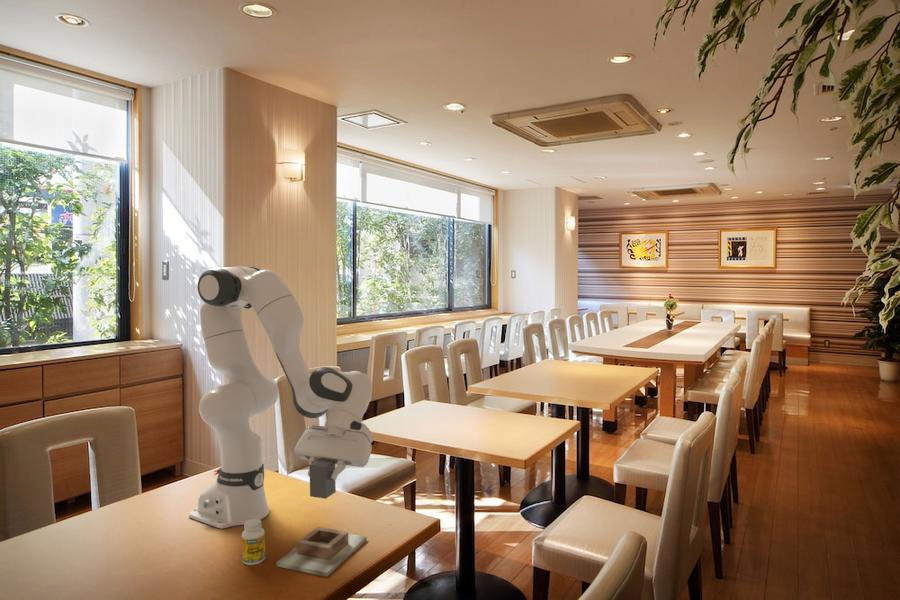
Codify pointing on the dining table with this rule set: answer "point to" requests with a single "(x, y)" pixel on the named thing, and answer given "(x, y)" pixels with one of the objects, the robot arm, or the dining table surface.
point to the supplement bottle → (253, 542)
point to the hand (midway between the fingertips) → (321, 477)
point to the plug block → (321, 478)
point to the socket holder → (321, 551)
